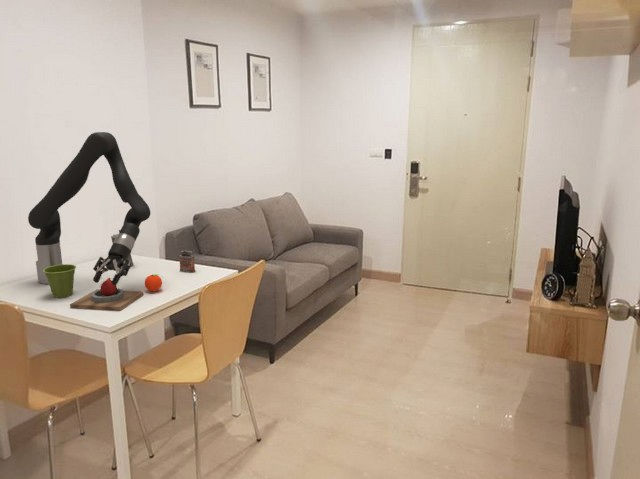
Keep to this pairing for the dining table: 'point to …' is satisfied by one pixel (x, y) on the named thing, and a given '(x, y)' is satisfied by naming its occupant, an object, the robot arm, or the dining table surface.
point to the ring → (113, 298)
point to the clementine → (153, 282)
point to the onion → (108, 288)
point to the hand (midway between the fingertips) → (104, 283)
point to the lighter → (187, 262)
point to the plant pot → (61, 279)
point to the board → (113, 306)
